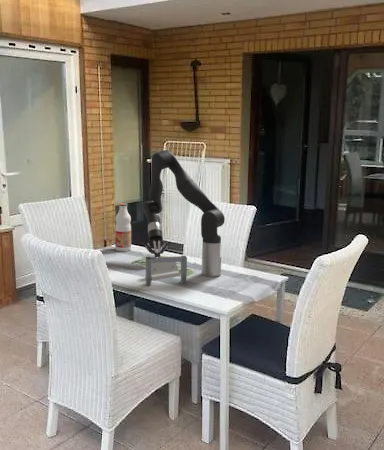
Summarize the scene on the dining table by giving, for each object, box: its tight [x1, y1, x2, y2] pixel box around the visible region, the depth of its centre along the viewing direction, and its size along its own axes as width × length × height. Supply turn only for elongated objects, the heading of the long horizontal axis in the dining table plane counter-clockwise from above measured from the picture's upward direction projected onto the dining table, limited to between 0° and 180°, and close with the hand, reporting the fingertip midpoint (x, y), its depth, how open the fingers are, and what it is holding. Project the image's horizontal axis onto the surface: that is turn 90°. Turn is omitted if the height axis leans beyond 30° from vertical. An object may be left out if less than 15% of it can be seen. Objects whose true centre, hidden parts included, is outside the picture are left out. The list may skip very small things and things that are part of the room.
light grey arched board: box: [151, 262, 181, 282], centre depth 247 cm, size 17×5×10 cm, turn 124°
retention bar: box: [145, 255, 188, 287], centre depth 234 cm, size 19×4×13 cm, turn 102°
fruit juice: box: [114, 202, 132, 252], centre depth 294 cm, size 9×9×28 cm
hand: (158, 259), depth 260 cm, fingers closed
